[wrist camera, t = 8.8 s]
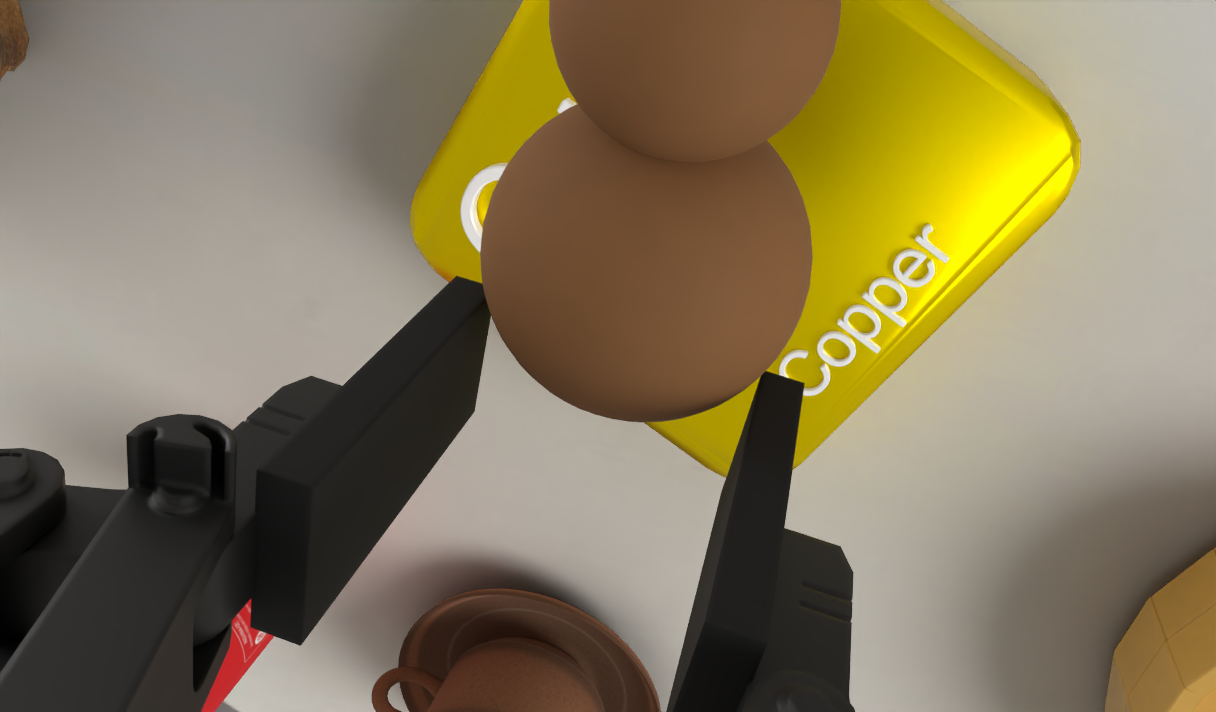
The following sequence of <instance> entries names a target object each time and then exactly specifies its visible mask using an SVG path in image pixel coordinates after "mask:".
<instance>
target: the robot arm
mask: <svg viewBox="0 0 1216 712" xmlns="http://www.w3.org/2000/svg"><path fill="white" fill-rule="evenodd" d="M490 317H491V314H490V311H489V307H488V304H487V301H486V297H485V293H484V288H483V284H482V283H479V282H476V281H472V280H469V279H466V278H463V277H459V276H456V277H455V278H454V279H453V280H452V281H451V282H450V283H449V284H447V285H446V286H445V287H444V288H443V289H442V290H441V291H440V292H439V293H438V294H437V295H436V296H435V297H434V298H433V299H432V300H431V301H430V302H429V303H428V304H427V305H426V306H425V307H424V308H423V309H422V310H421V311H420V312H419V313H417V314H416V315H415V316H414V317H413V318H412V319H411V320H410V321H409V322H408V323H407V324H406V325H405V326H404V327H403V328H402V329H401V330H400V331H399V332H398V333H397V334H396V335H395V336H394V337H393V338H392V339H391V340H390V341H389V342H388V343H386V344H385V345H384V346H383V347H382V348H381V349H380V350H379V351H378V352H377V353H376V354H375V355H374V356H373V357H372V358H371V359H370V360H369V361H368V362H367V363H366V364H365V365H364V366H363V367H362V368H361V369H360V370H359V371H358V372H356V373H355V374H354V375H353V376H352V377H351V378H350V379H349V380H348V381H347V382H346V383H345V384H344V385H343V386H341V385H338V384H335V383H332V382H328V381H325V380H322V379H319V378H316V377H313V376H310V377H307V378H304V379H302V380H299V381H296V382H294V383H291V384H289V385H286V386H283V387H282V388H280V389H279V390H278V391H277V392H276V393H275V394H274V395H272V396H271V397H270V398H269V399H268V400H267V401H266V402H264V403H263V405H262V407H261V408H260V407H259V408H257V409H256V410H255V411H254V412H253V413H252V414H251V415H249V416H248V417H247V420H246V422H244V421H243V422H241V423H240V424H239V425H238V426H237V427H236V428H235V429H233V430H231V429H230V428H228V427H227V426H225V425H224V424H222V423H221V422H219V421H217V420H214V419H211V418H207V417H204V416H200V415H185V414H176V415H170V416H163V417H157V418H155V419H152V420H150V421H147V422H145V423H142V424H140V425H138V426H137V427H136V428H135V429H133V430H132V431H131V432H130V433H129V434H128V435H126V436H127V461H128V485H129V488H128V489H127V490H114V489H101V488H91V487H81V486H70V485H65V473H64V469H63V468H62V466H61V465H60V463H59V461H58V460H57V459H55V458H53V457H51V456H50V455H48V454H46V453H44V452H40V451H35V450H30V449H25V448H15V449H0V712H201V711H202V709H203V706H204V704H205V702H206V700H207V697H208V695H209V693H210V691H211V688H212V686H213V684H214V682H215V679H216V677H217V675H218V672H219V670H220V668H221V666H222V663H223V661H224V659H225V657H226V654H227V652H228V650H229V648H230V642H231V636H232V620H233V619H234V618H235V617H236V615H237V614H238V613H239V612H240V611H241V610H242V608H243V607H244V606H245V605H246V604H247V603H248V601H249V600H250V599H251V620H250V627H251V628H253V629H256V630H259V631H262V632H264V633H267V634H270V635H273V636H275V637H278V638H281V639H284V640H287V641H289V642H292V643H295V644H298V645H300V646H301V645H302V643H303V642H304V640H305V639H306V638H307V636H308V635H309V634H310V632H311V631H312V630H313V628H314V627H315V626H316V624H317V623H318V622H319V620H320V619H321V618H322V616H323V615H324V614H325V612H326V611H327V609H328V608H329V607H330V605H331V604H332V603H333V601H334V600H335V599H336V597H337V596H338V595H339V593H340V592H341V591H342V589H343V588H344V587H345V585H346V584H347V583H348V581H349V580H350V578H351V577H352V576H353V574H354V573H355V572H356V570H357V569H358V568H359V566H360V565H361V564H362V562H363V561H364V560H365V558H366V557H367V556H368V554H369V553H370V552H371V550H372V549H373V547H374V546H375V545H376V543H377V542H378V541H379V539H380V538H381V537H382V535H383V534H384V533H385V531H386V530H387V529H388V527H389V526H390V525H391V523H392V522H393V521H394V519H395V518H396V516H397V515H398V514H399V512H400V511H401V510H402V508H403V507H404V506H405V504H406V503H407V502H408V500H409V499H410V498H411V496H412V495H413V494H414V492H415V491H416V490H417V488H418V487H419V485H420V484H421V483H422V481H423V480H424V479H425V477H426V476H427V475H428V473H429V472H430V471H431V469H432V468H433V467H434V465H435V464H436V463H437V461H438V460H439V459H440V457H441V456H442V454H443V453H444V452H445V450H446V449H447V448H448V446H449V445H450V444H451V442H452V441H453V440H454V438H455V437H456V436H457V434H458V433H459V432H460V430H461V429H462V428H463V426H464V425H465V423H466V422H467V421H468V419H469V418H470V417H471V415H472V414H473V413H474V411H475V405H476V399H477V393H478V387H479V382H480V376H481V370H482V364H483V358H484V352H485V347H486V341H487V335H488V329H489V323H490ZM804 385H805V383H803V382H800V381H797V380H794V379H790V378H787V377H784V376H781V375H777V374H774V373H771V372H768V371H765V372H764V373H763V374H762V375H761V377H760V380H759V383H758V385H757V388H756V391H755V394H754V397H753V400H752V403H751V406H750V409H749V412H748V415H747V418H746V421H745V424H744V427H743V430H742V433H741V436H740V439H739V442H738V445H737V448H736V451H735V454H734V457H733V460H732V463H731V466H730V469H729V471H728V474H727V477H726V480H725V483H724V486H723V489H722V492H721V496H720V500H719V504H718V508H717V512H716V516H715V520H714V524H713V528H712V532H711V536H710V540H709V544H708V548H707V552H706V556H705V560H704V564H703V568H702V572H701V576H700V580H699V584H698V588H697V592H696V596H695V600H694V604H693V608H692V612H691V616H690V620H689V624H688V628H687V632H686V636H685V640H684V644H683V648H682V652H681V656H680V660H679V664H678V667H677V671H676V675H675V679H674V683H673V687H672V691H671V695H670V699H669V703H668V707H667V711H666V712H855V710H854V707H853V706H852V705H851V704H850V700H849V680H850V652H851V623H850V622H851V618H852V602H851V600H852V595H853V571H852V569H851V567H850V565H849V563H848V561H847V559H846V557H845V555H844V553H843V551H842V549H841V547H840V546H837V545H834V544H831V543H828V542H825V541H822V540H819V539H816V538H813V537H810V536H807V535H804V534H801V533H798V532H795V531H791V530H788V529H785V528H784V525H785V518H786V511H787V504H788V497H789V490H790V483H791V476H792V469H793V462H794V455H795V448H796V441H797V434H798V427H799V420H800V413H801V406H802V399H803V392H804Z"/></svg>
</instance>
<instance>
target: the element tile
mask: <svg viewBox="0 0 1216 712" xmlns="http://www.w3.org/2000/svg"><path fill="white" fill-rule="evenodd" d="M576 104H578V103H577V102H576V101H575V99H574V97H573V96H572V94H571V93H570V91H569V90H568V87H567V85H566V83H565V81H564V79H563V77H562V75H561V72H560V70H559V68H558V65H557V61H556V58H555V54H554V50H553V46H552V42H551V35H550V27H549V0H523V2H522V4H521V6H520V7H519V9H518V11H517V13H516V14H515V16H514V18H513V20H512V21H511V23H510V25H509V27H508V28H507V30H506V32H505V34H504V35H503V37H502V39H501V41H500V42H499V44H498V46H497V48H496V49H495V51H494V53H493V55H492V56H491V58H490V60H489V62H488V63H487V65H486V67H485V69H484V70H483V72H482V74H481V76H480V77H479V79H478V81H477V83H476V84H475V86H474V88H473V90H472V91H471V93H470V95H469V97H468V98H467V100H466V102H465V104H464V105H463V107H462V109H461V111H460V112H459V114H458V116H457V118H456V119H455V121H454V123H453V125H452V126H451V128H450V130H449V131H448V133H447V135H446V137H445V138H444V140H443V142H442V144H441V145H440V147H439V149H438V151H437V152H436V154H435V156H434V158H433V159H432V161H431V163H430V165H429V166H428V168H427V170H426V172H425V173H424V175H423V177H422V179H421V180H420V182H419V184H418V187H417V190H416V192H415V195H414V198H413V200H412V204H411V215H410V227H411V231H412V234H413V238H414V241H415V245H416V246H417V248H418V249H419V251H420V252H421V254H422V255H423V256H424V258H425V259H426V261H427V262H428V264H429V265H430V266H431V267H432V268H433V269H434V270H435V271H436V272H437V273H438V274H439V275H440V276H442V277H443V278H444V279H446V280H447V281H448V282H451V281H452V280H453V279H454V278H455V277H456V276H459V277H463V278H466V279H469V280H472V281H476V282H479V283H482V275H481V260H480V250H481V239H482V231H483V223H484V219H485V216H486V212H487V209H488V206H489V203H490V199H491V196H492V193H493V191H494V189H495V187H496V185H497V183H498V181H499V179H500V177H501V175H502V173H503V171H504V169H505V168H506V166H507V164H508V163H509V162H510V160H511V159H512V158H513V156H514V155H515V153H516V152H517V151H518V150H519V148H520V147H521V146H522V145H523V144H524V142H525V141H526V140H528V139H529V138H530V137H531V136H532V135H533V134H534V133H535V132H536V131H537V130H538V129H539V128H540V127H542V126H543V125H544V124H545V123H546V122H548V121H549V120H551V119H552V118H554V117H555V116H557V115H558V114H560V113H562V112H563V111H565V110H566V109H568V108H570V107H572V106H574V105H576ZM767 141H768V142H769V143H770V144H771V145H772V146H773V147H774V148H775V150H776V151H777V153H778V154H779V155H780V157H781V158H782V160H783V161H784V163H785V164H786V166H787V167H788V168H789V170H790V171H791V173H792V175H793V177H794V180H795V182H796V184H797V186H798V188H799V190H800V193H801V195H802V197H803V200H804V204H805V207H806V211H807V215H808V219H809V223H810V228H811V240H812V253H813V260H812V271H811V279H810V287H809V291H808V295H807V299H806V303H805V306H804V309H803V312H802V315H801V317H800V320H799V322H798V324H797V326H796V328H795V330H794V333H793V334H792V336H791V338H790V339H789V341H788V343H787V345H786V346H785V348H784V349H783V350H782V352H781V353H780V355H779V356H778V358H777V359H776V360H775V361H774V362H773V363H772V365H771V366H770V367H769V368H768V369H767V370H766V371H768V372H771V373H774V374H777V375H781V376H784V377H787V378H790V379H794V380H797V381H800V382H803V383H805V385H804V392H803V399H802V406H801V413H800V420H799V427H798V434H797V441H796V448H795V455H794V462H793V469H794V468H796V467H797V466H799V465H800V464H801V463H802V462H803V461H804V460H805V459H806V458H807V457H808V456H809V455H810V454H811V453H812V452H813V451H814V450H815V449H816V448H817V447H818V446H819V445H820V444H822V443H823V442H824V441H825V440H826V439H827V438H828V437H829V436H830V435H831V434H832V433H833V432H834V431H835V430H836V429H837V428H838V427H839V426H840V425H841V424H842V423H843V422H844V421H845V420H846V419H847V418H848V417H849V416H850V415H851V414H852V413H853V412H854V411H855V410H856V409H857V408H858V407H859V406H860V405H861V404H862V403H863V402H864V401H865V400H866V399H867V398H868V397H869V396H870V395H871V394H872V393H873V392H874V391H875V390H876V389H877V388H878V387H879V386H880V385H881V384H882V383H883V382H884V381H885V380H886V379H887V378H888V377H889V376H890V375H891V374H892V373H893V372H894V371H895V370H896V369H897V368H898V367H900V366H901V365H902V364H903V363H904V362H905V361H906V360H907V359H908V358H909V357H910V356H911V355H912V354H913V353H914V352H915V351H916V350H917V349H918V348H919V347H920V346H921V345H922V344H923V343H924V342H925V341H926V340H927V339H928V338H929V337H930V336H931V335H932V334H933V333H934V332H935V331H936V330H937V329H938V328H939V327H940V326H941V325H942V324H943V323H944V322H945V321H946V320H947V319H948V318H949V317H950V316H951V315H952V314H953V313H954V312H955V311H956V310H957V309H958V308H959V307H960V306H961V305H962V304H963V303H964V302H965V301H966V300H967V299H968V298H969V297H970V296H971V295H972V294H973V293H974V292H975V291H976V290H978V289H979V288H980V287H981V286H982V285H983V284H984V283H985V282H986V281H987V280H988V279H989V278H990V277H991V276H992V275H993V274H994V273H995V272H996V271H997V270H998V269H999V268H1000V267H1001V266H1002V265H1003V264H1004V263H1005V262H1006V261H1007V260H1008V259H1009V258H1010V257H1011V256H1012V255H1013V254H1014V253H1015V252H1016V251H1017V250H1018V249H1019V248H1020V247H1021V246H1022V245H1023V244H1024V243H1025V242H1026V241H1027V240H1028V239H1029V238H1030V237H1031V236H1032V235H1033V234H1034V233H1035V232H1036V231H1037V230H1038V229H1039V228H1040V227H1041V226H1042V225H1043V224H1044V223H1045V222H1046V221H1047V220H1048V219H1049V218H1050V217H1051V216H1052V215H1053V214H1054V213H1055V212H1056V211H1057V209H1058V208H1059V207H1060V205H1061V204H1062V203H1063V201H1064V200H1065V199H1066V197H1067V196H1068V194H1069V192H1070V190H1071V188H1072V185H1073V183H1074V181H1075V178H1076V176H1077V174H1078V171H1079V169H1080V147H1081V140H1080V138H1079V136H1078V134H1077V132H1076V130H1075V127H1074V125H1073V123H1072V121H1071V119H1070V117H1069V115H1068V113H1067V112H1066V111H1065V109H1064V108H1063V107H1062V106H1061V104H1060V103H1059V102H1058V100H1057V99H1056V98H1055V96H1054V95H1053V94H1052V93H1051V91H1050V90H1049V89H1048V87H1047V86H1046V85H1045V84H1044V83H1043V82H1042V81H1041V79H1040V78H1039V77H1038V76H1037V75H1036V74H1035V73H1034V72H1033V71H1032V70H1031V69H1029V68H1028V67H1027V66H1025V65H1024V64H1023V63H1022V62H1020V61H1019V60H1018V59H1016V58H1015V57H1014V56H1013V55H1011V54H1010V53H1009V52H1007V51H1006V50H1005V49H1004V48H1002V47H1001V46H1000V45H998V44H997V43H996V42H995V41H993V40H992V39H991V38H990V37H988V36H987V35H986V34H984V33H983V32H982V31H981V30H979V29H978V28H977V27H975V26H974V25H973V24H972V23H970V22H969V21H968V20H966V19H965V18H964V17H963V16H961V15H960V14H959V13H957V12H956V11H955V10H954V9H952V8H951V7H950V6H948V5H947V4H946V3H945V2H943V1H942V0H841V14H840V24H839V32H838V37H837V41H836V45H835V50H834V53H833V56H832V58H831V61H830V63H829V66H828V68H827V71H826V73H825V75H824V77H823V79H822V81H821V83H820V85H819V86H818V88H817V90H816V92H815V93H814V95H813V96H812V97H811V98H810V100H809V101H808V102H807V104H806V105H805V106H804V108H803V109H802V110H801V111H800V113H799V114H798V115H797V116H796V117H795V118H794V119H793V120H792V121H791V122H790V123H789V124H787V125H786V126H785V127H784V128H783V129H782V130H780V131H779V132H778V133H776V134H775V135H774V136H772V137H771V138H769V139H768V140H767ZM760 377H761V376H760ZM760 377H759V378H758V379H757V380H756V381H755V382H754V383H752V384H751V385H750V386H749V387H747V388H746V389H745V390H744V391H742V392H741V393H739V394H737V395H736V396H734V397H733V398H731V399H729V400H728V401H726V402H724V403H722V404H721V405H719V406H717V407H714V408H712V409H709V410H707V411H705V412H702V413H699V414H696V415H692V416H689V417H685V418H682V419H677V420H670V421H664V422H644V423H645V424H647V425H648V426H649V427H651V428H652V429H654V430H655V431H656V432H658V433H659V434H660V435H662V436H663V437H665V438H666V439H667V440H669V441H670V442H672V443H673V444H674V445H676V446H677V447H678V448H680V449H681V450H683V451H684V452H685V453H687V454H688V455H690V456H691V457H692V458H694V459H695V460H696V461H698V462H699V463H701V464H702V465H703V466H705V467H706V468H708V469H710V470H711V471H713V472H715V473H717V474H719V475H721V476H723V477H727V474H728V471H729V469H730V466H731V463H732V460H733V457H734V454H735V451H736V448H737V445H738V442H739V439H740V436H741V433H742V430H743V427H744V424H745V421H746V418H747V415H748V412H749V409H750V406H751V403H752V400H753V397H754V394H755V391H756V388H757V385H758V383H759V380H760ZM793 469H792V470H793Z"/></svg>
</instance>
